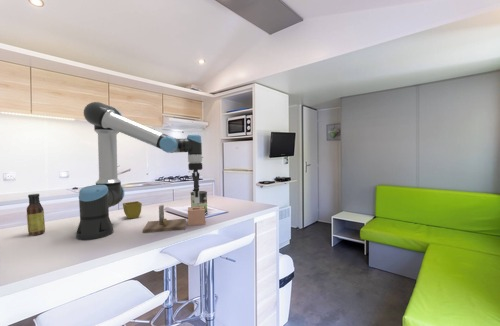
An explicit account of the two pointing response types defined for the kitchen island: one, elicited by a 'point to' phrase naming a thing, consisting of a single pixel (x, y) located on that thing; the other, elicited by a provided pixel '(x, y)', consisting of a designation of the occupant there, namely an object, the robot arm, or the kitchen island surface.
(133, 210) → the flower pot
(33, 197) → the sauce bottle
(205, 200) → the coffee can
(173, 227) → the base
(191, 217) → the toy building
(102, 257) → the kitchen island surface
